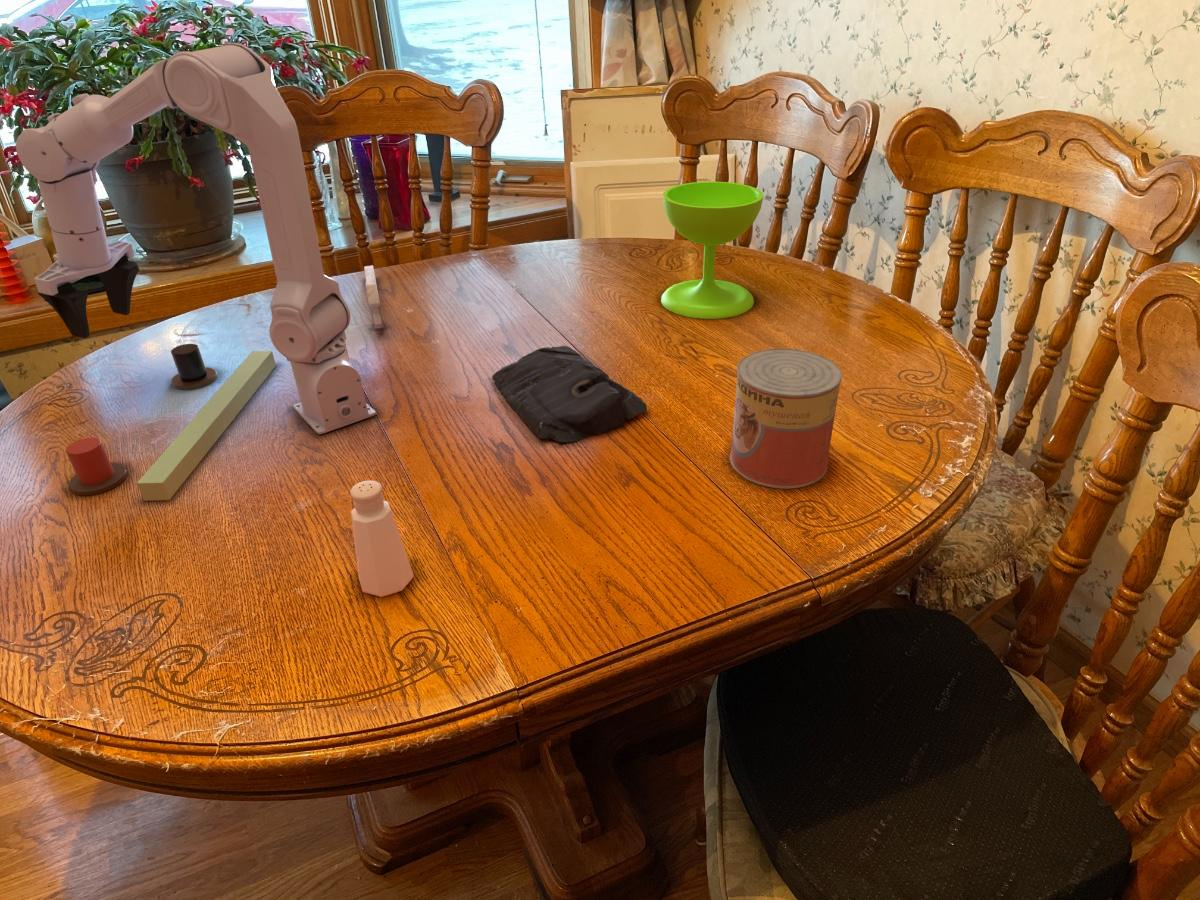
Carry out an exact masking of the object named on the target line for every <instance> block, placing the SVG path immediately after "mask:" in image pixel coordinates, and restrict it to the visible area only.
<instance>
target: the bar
mask: <svg viewBox="0 0 1200 900" xmlns="http://www.w3.org/2000/svg"><path fill="white" fill-rule="evenodd" d="M276 367H277V363H276V360H275V357H274V353H273V350H252V351H251V352H250V354H248V356H246V358H245V359H243V361H242V363H240V365H239V366H238V367H237V368H236V369H235V370H234V372H233V373H232V374H231V375H230V376H229V377H228V379H227V380H226V381H225V382H224V383H223V384H222V385H221V386H220V387H219V389H218V390H217V391H216V392H215V393H214V394H213V395H212V397H211V398H210V399H209V400H208V401H207V402H206V404H205V405H203V406H202V408H201V409H200V410H199V411H198V413H197V414H196V415H195V416H194V417H193V418H192V419H191V421H190V422H189V423H188V424H187V425H186V426H185V427H184V429H182V430H181V432H180V433H179V434H178V435H177V436H176V438H175V439H174V440H173V441H172V442H171V443H170V445H168V447H167V448H166V449H165V450H164V451H163V452H162V454H160V456H159V457H158V458H157V459H156V460H155V461H154V462H153V463H152V465H151V466H150V467H149V468H148V469H147V471H146V472H145V473H144V474H143V475H142V477H140V478H139V480H138V481H137V482H136V485H137V488H138V490H139V492H140V495H141V497H142V499H143V501H145V502H148V501H170V500H171V499H172V498H173V497H174V495H176V493H177V491H178V490H179V489H181V487H182V486H183V484H184V483H185V482H186V480H187V479H188V478H189V476H191V474H192V473H193V472H194V470H195V469H196V468H197V466H199V464H200V463H201V461H202V460H203V459H204V458H205V457H206V455H207V454H208V453H209V451H210V450H211V449H212V448H213V446H214V445H215V444H216V442H217V441H218V440H219V438H221V436H222V435H223V434H224V432H225V431H226V429H227V428H229V426H230V425H231V424H232V422H233V421H234V420H235V419H236V417H237V416H238V414H239V413H240V412H241V411H242V410H243V408H244V407H245V406H246V405H247V403H249V401H250V399H251V398H252V397H253V396H254V394H256V392H257V391H258V389H259V388H260V387H261V386H262V384H263V383H264V381H265V380H266V379H268V377H269V375H270V374H271V373H272V371H274V369H275V368H276Z"/></svg>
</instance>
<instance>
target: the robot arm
mask: <svg viewBox="0 0 1200 900" xmlns="http://www.w3.org/2000/svg"><path fill="white" fill-rule="evenodd" d="M71 102H72V104H73V106H71V107H70V108H68V109H67V110H65V111H64V112H62V113H60V112H56V113H52V114H51V115H48V116H47V117H46V119H47V121H48V123H47V124H46V125H45V126H42V127H38V128H25V129H23V130H21V133H20V134H19V135H18V137H17V139H16V141H15V150H16V154H17V157H18V160H19V161H20V163H21V165H22V166H23V167H24V169H25V170H26V171H27V172H28V174H30V175H31V176H33V177H34V178H35V179H36V180H37V184H38V185H37V186H38V188H39V193H40V195H41V199H42V203H43V207H44V210H45V214H46V218H47V221H48V226H49V229H50V232H51V236H52V240H53V243H54V247H55V251H56V253H54V254H53V256H52V257H53V261H54V262H53V263H52V264H51V265H50V266H49V267H48V268H47V269H46V270H45V271H43V272H42V273H40V274H38V275H37V276H35V277H34V278H33V279H34V283H35V287H36V288H35V289H36V292H37V294H38V295H39V296H40V297H41V298H42V299H43V300H44V301H46V302H47V303H48V304H49V306H51V307H52V309H53V310H54V311H55V312H56V313H57V315H58V316H59V318H60V319H61V320H62V322H63V323H64V325H65V326H66V328H67V330H68V331H69V333H70V335H71V336H72V337H76V338H81V339H87V338H89V337H90V325H89V322H88V316H87V303H88V301H87V300H88V296H89V292H87V291H83V290H80V289H79V290H78V289H77V288H76V286H73V283H75V282H77V281H79V280H81V279H83V278H86V277H89V276H90V277H91V276H93V275H96V274H97V275H98V277H99V279H100V281H101V283H102V285H103V288H104V291H105V295H106V297H107V301H108V304H109V307H110V309H111V310H112V313H115V314H119V315H122V316H128V315H130V312H131V303H132V302H131V301H132V292H133V287H134V283H135V280H136V277H137V275H138V273H139V271H140V267H139V263H138V262H137V261H134V260H129V259H132V258H134V257H135V254H134V249H133V244H132V242H127V241H123V240H115V241H114V242H110V243H109V242H108V238H107V234H106V229H105V225H104V221H103V216H102V212H101V207H100V203H99V199H98V194H97V190H96V184H97V182H98V178H97V168H98V167H99V165H100V161H101V160H103V159H104V158H106V157H107V156H109V155H111V154H113V153H114V152H116V151H118V150H119V149H121V148H122V147H124V146H126V145H127V144H129V143H130V142H131V141H132V140H133V137H134V125H135V124H138V123H139V122H141V121H143V120H145V119H147V118H149V117H150V116H152V115H154V114H156V113H158V112H160V111H162V110H163V109H165V108H167V107H168V108H169V109H177V108H179V109H180V110H181V111H182V112H184V113H186V114H187V115H189V116H190V117H192V118H194V119H196V120H198V121H201V122H203V123H205V124H207V125H210V126H211V127H213V128H216V129H218V130H220V131H222V132H225V133H227V134H229V135H231V136H233V137H234V138H236V139H237V140H238V141H239V142H241V143H243V145H245V146H246V147H247V149H248V153H249V158H250V162H251V166H252V171H253V176H254V181H255V185H256V190H257V194H258V199H259V203H260V204H259V205H260V208H261V214H262V218H263V222H264V227H265V232H266V236H267V241H268V245H269V250H270V254H271V259H272V263H273V269H274V272H275V273H274V274H275V278H276V286H275V289H274V292H273V295H272V298H271V301H270V304H269V307H270V311H271V321H270V324H269V331H268V332H269V338H270V340H271V343H272V346H273V347H274V348H275V349H276V351H277V352H278V353H279V354H280V355H282V356H283V357H284V358H286V361H287V362H290V366H291V370H292V374H293V377H294V382H295V385H296V389H297V392H298V396H299V399H300V402H297V403H294V404H293V405H292V408H293V410H295V412H296V413H297V414H298V415H299V416H300V417H301V418H302V419H303V420H304V421H305V422H306V423H307V424H308V426H310V428H311V429H312V430H313V431H314V432H315V433H316V434H317V435H323V434H326V433H328V432H331V431H334V430H337V429H340V428H343V427H346V426H348V425H351V424H354V423H357V422H360V421H363V420H366V419H368V418H371V417H374V416H375V415H376V414H377V413H376V410H375V409H373V408H372V407H371V406H370V404H368V403H367V400H366V396H365V391H364V387H363V382H362V378H361V375H360V373H359V372H358V370H357V369H356V368H355V367H354V366H353V365H352V363H351V360H350V355H349V350H348V346H347V342H346V341H347V334H346V331H345V330H347V329H348V327H349V325H350V323H351V311H350V308H349V306H348V304H347V302H346V301H345V299H344V298H343V296H342V294H341V290H340V286H339V282H338V281H337V280H335V279H333V278H331V277H329V276H327V275H325V273H324V267H323V262H322V256H321V250H320V246H319V239H318V234H317V233H318V232H317V229H316V228H317V227H316V224H315V218H314V217H315V216H314V212H313V211H314V210H313V207H312V202H311V201H312V200H311V195H310V189H309V185H308V178H307V174H306V168H305V162H304V156H303V151H302V146H301V141H300V135H299V129H298V126H297V123H296V120H295V118H294V116H293V115H292V113H291V111H290V110H289V108H288V106H287V104H286V103H285V101H284V99H283V97H282V96H281V93H280V92H279V90H278V89H277V87H276V83H275V79H274V73H273V69H272V66H271V64H270V63H268V62H267V61H266V60H264V59H263V57H261V56H260V55H258V54H257V53H256V52H255V51H254V50H252V49H251V48H250V47H248V46H246V45H244V44H241V43H238V42H229V43H224V44H223V45H221V46H216V47H211V48H206V49H205V48H204V49H200V50H193V51H179V52H176V53H174V54H172V55H171V56H170V57H169V58H166V59H162V60H159V61H156V62H155V63H154V64H153V65H152V66H150V67H149V68H148V69H147V70H145V71H144V72H142V73H141V74H140V75H139V76H137V77H136V78H135V79H133V80H132V81H130V82H129V83H128V84H127V85H125V86H124V87H122V88H120V90H119V91H117V92H116V93H114V94H113V95H112V96H111V97H108V96H105V95H101V94H88V93H82V94H81V93H80V94H77V95H76V96H74V97H73V98H71Z"/></svg>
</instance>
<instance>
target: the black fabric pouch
mask: <svg viewBox="0 0 1200 900" xmlns="http://www.w3.org/2000/svg"><path fill="white" fill-rule="evenodd" d="M491 379H492V381H493V382H494V385H495V386H496V387H497V389H498V391H500V394H501V395H502V396H503V397H504V399H505V400H506V403H507V404H508V405H509V406H510V407H511V409H512V410H513V411H514V412H515V413H516V414H517V416H519V418H520V419H521V421H522V422H523V423H524V424H525V425H526V426H527V427H528V429H529V430H530V431H531V432H532V433H533V434H535V436H536V437H537V438H538V439H540V440H546V441H551V439H552V440H553V441H556V442H557V443H558V444H559V445H565V444H567V443H573V442H576V441H577V442H579V441H581V439H584V438H586V437H591V436H597V435H599V434H604V433H605V434H606V433H608V432H610V431H614V430H616V429H618V428H621V427H622V426H623V425H624V424H625V423H626V422H630V421H631V420H632V419H634V418H637V415H639V414H643V413H646V412H647V411H648V409H647V404H646V402H644V401H643V399H642V398H641V397H639V396H638V395H637V394H635V393H634V392H633V391H631V390H629V388H626V387H624V386H623V385H622V384H620V383H618V382H617V381H615V380H613V379H612V378H610V377H609V374H607V373H606V372H604V371H603V370H602V369H601V368H599V367H597V366H596V365H595V364H593V362H591V361H589V360H587V359H585V358H584V357H583V356H582V355H581V354H580V353H579V352H577V351H576V350H575V349H573V348H572V347H570V346H567V345H559V346H551V347H550V346H547V347H541V348H538V349H535V350H533V351H532V352H529V353H527V354H526V355H524V356H522V357H520V358H518V360H517V361H514V362H512V363H510V364H507V365H505V366H502V367H501V368H500V369H499V370H497V371H495V373H493V374H492V375H491Z"/></svg>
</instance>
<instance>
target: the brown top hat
mask: <svg viewBox="0 0 1200 900" xmlns="http://www.w3.org/2000/svg"><path fill="white" fill-rule="evenodd" d="M170 354H171V356H172V359H173V362H174V365H175V368H176V370H177V374H175V375H174V376H173V377H172V378H171V383H172V386H173V388H175V389H177V390H182V391H183V390H185V391H186V390H188V391H189V390H196V389H200V388H203V387H205V386H208V385H210V384H212V383H214V381H215V380H217V378H218V373H217V371H216V369H215V368H212V367H209V366H206V365H205V362H204V359H203V356H202V353H201V351H200V347H199V345H198V344H196V343H185V344H180V345H177V346H175V347H173V348H172V349H171V351H170Z"/></svg>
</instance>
